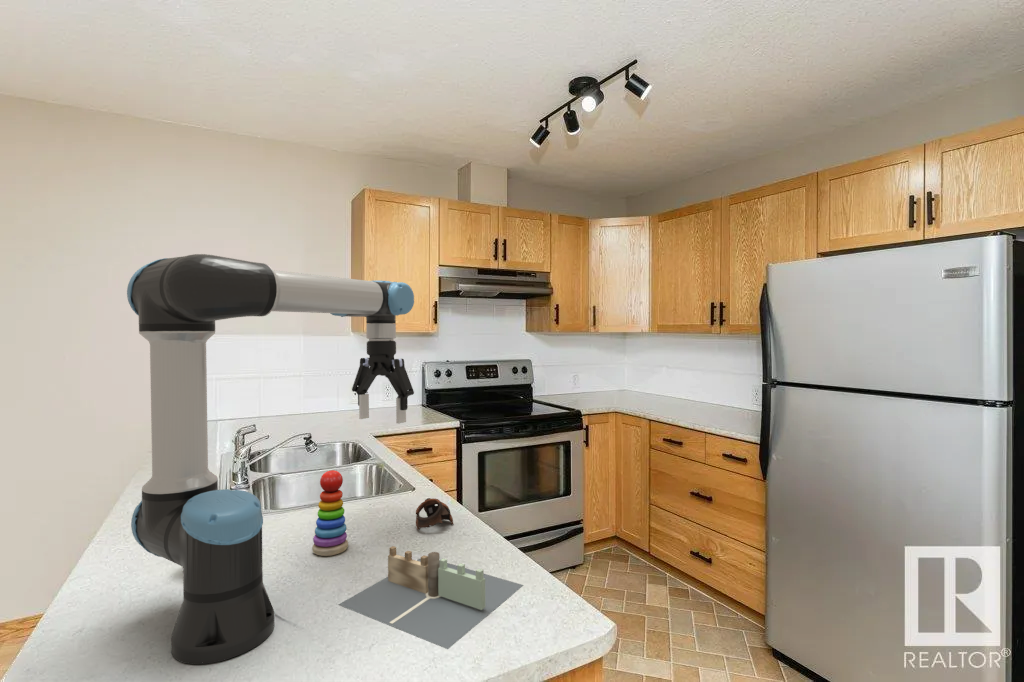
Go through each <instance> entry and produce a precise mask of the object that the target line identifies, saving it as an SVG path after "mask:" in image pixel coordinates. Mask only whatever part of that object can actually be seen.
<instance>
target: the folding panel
mask: <svg viewBox="0 0 1024 682" xmlns="http://www.w3.org/2000/svg"><path fill="white" fill-rule="evenodd" d="M447 563H448V559H447V558H441V559H440V568H438V595H439V596H441V597H444V598H447V599H450V600H453V601H456V602H459V603H462V604H465V605H468V606H471V607H474V608H477V609H480V610H482V609H484V608H485V578H483V573H484V569H482V568H478V569H476V570H475V571H476V576H475V575H471V574H468V573H465V568H466V564H465V563H458V564H456V566H457V570H454V569H451V568H448V567H447Z"/></svg>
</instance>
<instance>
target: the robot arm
mask: <svg viewBox="0 0 1024 682" xmlns="http://www.w3.org/2000/svg"><path fill="white" fill-rule="evenodd" d="M126 289H127V290H126V296H127V297H126V298H127V302H128V304H129V305H130V309H132V311H133V312H134V313H135V314H136V315H137V317H138V334H139V335H141V336H142V337H143V338H144V339H145V340H147V341H148V343H149V358H150V360H149V366H150V374H149V375H150V422H151V431H150V432H151V471H152V472H151V474H152V476H151V477H150V478H149V480H148V481H147V482H146V483H144V484H143V485H142V487H141V501H140V502H139V503H138V505H136V506H135V509H134V511H133V513H132V517H131V523H130V527H131V533H132V535H133V538H134V539H135V541H136V542H137V544H138V545H139V546H141V547H142V548H143V549H144V550H145V551H146V552H147V553H149V554H152V555H154V556H156V557H160V558H164V559H165V560H168V561H170V562H172V563H174V564H175V565H179V566H181V567H182V578H183V580H182V581H183V582H182V584H183V585H182V587H183V589H182V591H183V597H182V598H183V600H182V603H181V607H180V610H179V613H178V615H177V619H176V621H175V624H174V628H173V631H172V634H171V638H170V639H171V640H170V643H171V645H170V647H171V655H172V657H173V658H174V659H176V660H177V661H178V662H181V663H185V664H189V665H190V664H192V665H203V664H212V663H218V662H221V661H225V660H229V659H232V658H234V657H237V656H240V655H243V654H245V653H247V652H248V651H251V650H252V649H254V648H256V647H257V646H260V644H262V643H263V642H264V641H265V640H266V639H268V638H269V636H270V635H271V634H272V633H273V631H274V628H275V609H274V606H273V605H272V602H271V599H270V597H269V594H268V592H267V590H266V587H265V584H264V582H263V581H264V577H263V575H264V574H263V573H264V572H263V524H264V517H263V511H262V503H261V502H260V499H259V498H258V497H257V496H256V495H255V494H254V493H251V492H248V491H246V490H242V489H234V490H233V489H229V488H228V489H226V488H224V489H218V488H219V484H218V483H219V482H218V481H219V480H218V476H217V475H216V474H215V473H213V472H212V471H210V470H209V459H208V458H209V457H208V456H209V455H208V454H209V450H208V449H209V447H208V446H209V444H208V386H207V385H208V382H207V375H208V374H207V342H208V340H209V339H210V338H212V337H213V336H214V335H215V334H216V321H221V320H227V319H234V318H235V319H236V318H244V317H245V318H246V317H266V316H269V314H271V312H282V313H283V312H284V313H285V312H287V313H312V314H313V313H314V314H320V313H321V314H331V315H332V316H335V317H341V318H343V317H345V318H346V317H353V318H355V317H356V318H358V317H364V318H365V320H366V336H365V337H366V339H368V340H367V341H366V355H368V356H369V357H361V358H360V359H359V367H358V369H357V373H356V376H355V378H354V382H353V384H352V387H351V392H355V393H356V394H357V405H358V409H359V410H358V411H359V412H358V413H359V418H358V419H359V420H364V419H368V418H370V399H369V398H370V397H369V396H370V394H369V392H368V390H369V389H370V388H371V386H372V384H373V382H374V381H375V379H376V378H377V376H380V377H381V376H384V377H385V378H387V380H388V381H389V382H390V385H391V386H392V387H393V389H394V390H395V393H396V394H397V397H395V399H396V400H395V401H396V402H395V407H396V410H395V411H396V413H395V414H396V415H395V416H396V418H395V419H396V424H403V423H406V422H407V410H408V407H409V406H408V397H410V396H412V395H414V394H415V390H414V389H413V386H412V382H411V381H410V377H409V374H408V372H407V369H406V367H405V366H406V365H405V360H404V358H395V355H396V354H397V342H396V340H395V339H396V338H397V336H396V335H397V330H396V329H397V326H396V325H397V324H396V321H397V320H396V319H397V318H396V316H397V317H398V316H402V315H407V314H408V313H410V311H412V309H413V307H414V304H415V294H414V291H413V289H412V287H411V286H410V285H409V284H408V283H406V282H402V281H399V282H397V281H391V280H390V281H389V280H363V279H356V278H347V277H337V276H328V275H319V274H311V273H310V274H309V273H302V272H301V273H299V272H292V271H283V270H275V269H273V268H272V267H271V265H269V264H266V263H264V262H263V263H262V262H255V261H254V262H253V261H247V260H243V259H237V258H233V257H227V256H220V255H219V256H218V255H213V254H205V253H201V254H199V253H196V254H194V253H193V254H188V255H184V256H175V257H169V258H167V257H165V258H159V259H156V260H154V261H153V260H152V262H151V261H150V263H149V262H148V263H147V264H145V265H143V266H141V267H140V268H138V269H137V270H136V271H135V272H134V273H133V275H132V276H131V278H129V282H128V284H127V288H126Z"/></svg>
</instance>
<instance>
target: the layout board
mask: <svg viewBox="0 0 1024 682" xmlns="http://www.w3.org/2000/svg"><path fill="white" fill-rule="evenodd" d="M416 561H419V562H421V557H420V558H418V559H417V560H416ZM447 567H448V568H451V569H454V570H457V564H452V563H449V562H447ZM465 573H468V574H471V575H475V576H476V570H473V569H469V568H467V567H465ZM483 578H485V608H484V609H482V610H480V609H477V608H474V607H471V606H468V605H465V604H462V603H459V602H456V601H453V600H450V599H447V598H444V597H441V596H439V595H438V596H436V597H430V596H429V595H428V592H427V593H426V594H425V593H422V592H419V591H416V590H413V589H411V588H408V587H405V586H402V585H399V584H396V583H393V582H390V581H388V576H386V577H384V578H383V579H381V580H380V581H378V582H376V583H374V584H372V585H371V586H368V587H366V588H365V589H363V590H361V591H360V592H358V593H356V594H354V595H353V596H351V597H349V598H347V599H345V600H344V601H342V602H340V603H338V604H337V605H338V606H340V607H343V608H345V609H347V610H350V611H353V612H354V613H357V614H360V615H363V616H365V617H367V618H370V619H373V620H375V621H377V622H380V623H381V624H384V625H387V626H389V627H391V628H394V629H396V630H399V631H402V632H405V633H406V634H409V635H412V636H415V637H416V638H419V639H421V640H424V641H427V642H429V643H432V644H434V645H436V646H439V647H441V648H444V649H446V650H449V649H450V648H451V647H452V646H453V645H455V644H456V643H457V642H458V641H459V640H460V639H462V638H463V637H465V635H466V634H468V633H470V631H471V630H472V629H473V628H475V627H476V626H478V625H479V623H481V622H483V620H484V619H486V618H487V617H488V616H489V615H490V614H492V613H493V612H494V611H495V610H496V609H498V608H499V607H500V606H501V605H502V604H504V602H506V601H507V600H508V599H509V598H511V597H512V596H513V595H514V594H516V592H518V591H519V590H521V588H522V587H523V586H524V585H523V584H521V583H517V582H514V581H510V580H507V579H504V578H500V577H498V576H493V575H490V574H486V573H484V572H483Z"/></svg>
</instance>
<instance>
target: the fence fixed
mask: <svg viewBox="0 0 1024 682" xmlns="http://www.w3.org/2000/svg"><path fill="white" fill-rule="evenodd" d="M388 552H389V554H388V555H387V577H388V581H390V582H393V583H396V584H399V585H402V586H405V587H408V588H411V589H413V590H416V591H419V592H422V593H425V594H426V593H427V592H428V595H429V596H430V597H436V596H438V568H440V560H441V559H440V552H437V551H431V552H428V554H427V555H421V556H420V558H421V562H419V561H417V560H415V559H413V552H412V551H411V550H407V551H405V552H404V556H403V555H399V554H397V547H396V546H394V545H392V546H391V547H389V548H388Z"/></svg>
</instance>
